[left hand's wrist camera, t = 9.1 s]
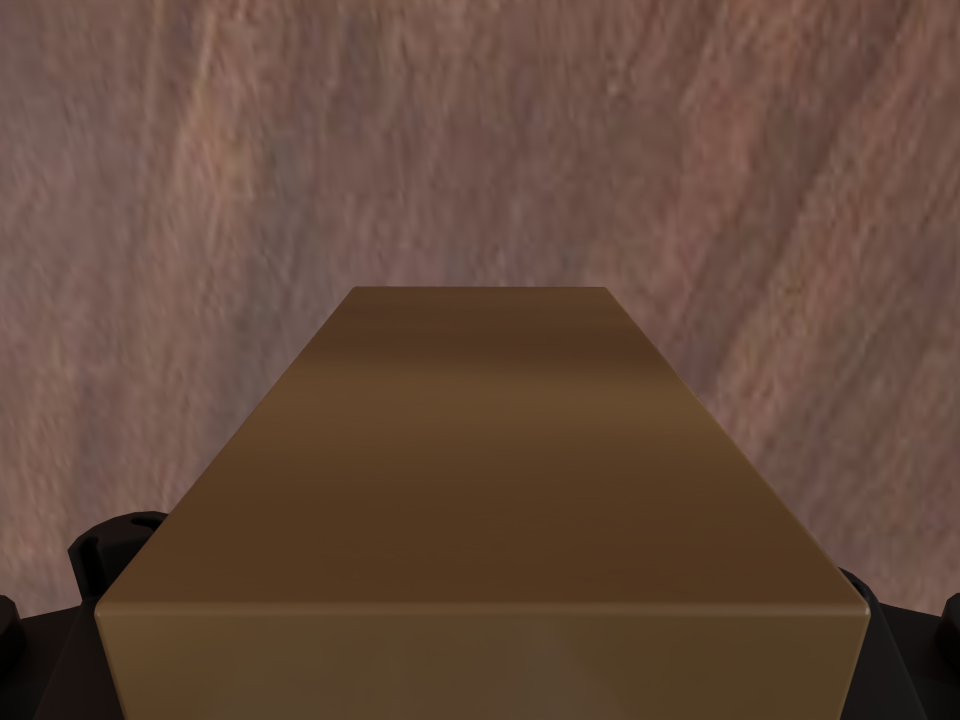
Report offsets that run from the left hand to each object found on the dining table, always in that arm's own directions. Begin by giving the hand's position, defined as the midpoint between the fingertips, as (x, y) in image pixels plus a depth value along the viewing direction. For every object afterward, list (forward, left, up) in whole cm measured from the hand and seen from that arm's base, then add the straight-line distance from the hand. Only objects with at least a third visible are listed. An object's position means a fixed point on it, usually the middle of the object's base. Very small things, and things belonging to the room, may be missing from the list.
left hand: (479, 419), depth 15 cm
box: (+8, +2, -1) cm, 8 cm away
